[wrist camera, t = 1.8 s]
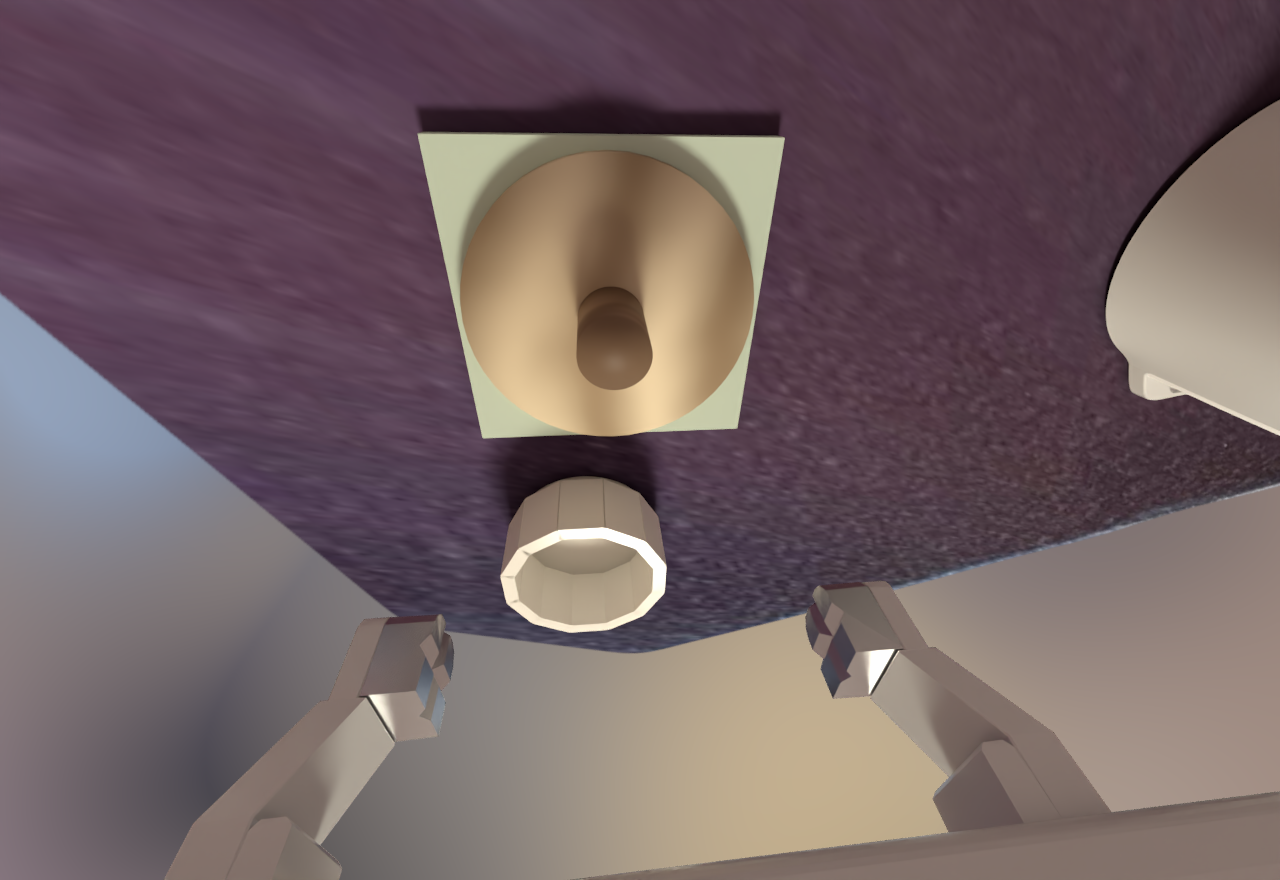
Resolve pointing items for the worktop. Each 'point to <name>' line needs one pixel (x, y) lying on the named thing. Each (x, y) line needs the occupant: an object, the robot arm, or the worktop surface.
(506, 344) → the lid
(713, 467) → the worktop surface
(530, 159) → the mat
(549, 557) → the bowl
